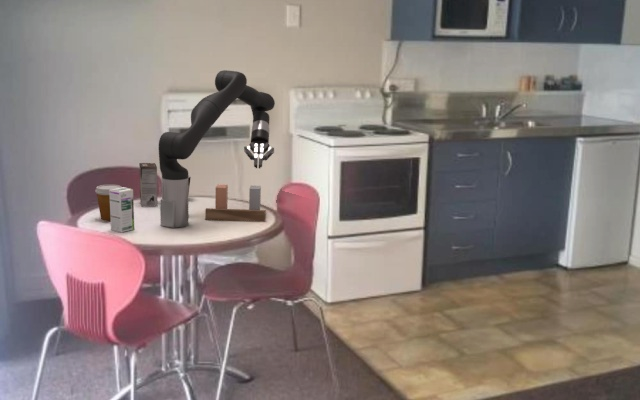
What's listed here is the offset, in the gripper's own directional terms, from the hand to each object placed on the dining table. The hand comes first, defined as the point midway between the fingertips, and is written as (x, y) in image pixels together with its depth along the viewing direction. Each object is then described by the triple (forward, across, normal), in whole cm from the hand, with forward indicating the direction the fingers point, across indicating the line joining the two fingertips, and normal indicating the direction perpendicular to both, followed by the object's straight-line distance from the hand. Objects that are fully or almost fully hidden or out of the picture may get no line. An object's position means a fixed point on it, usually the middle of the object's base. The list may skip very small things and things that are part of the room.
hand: (257, 167), depth 276 cm
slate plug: (+22, 0, -1) cm, 22 cm away
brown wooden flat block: (+27, -6, -5) cm, 28 cm away
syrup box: (+43, -44, -21) cm, 65 cm away
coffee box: (+16, -43, +6) cm, 47 cm away
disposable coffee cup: (+33, -52, -11) cm, 63 cm away
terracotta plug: (+22, -13, -1) cm, 26 cm away
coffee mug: (+10, -33, +12) cm, 36 cm away
